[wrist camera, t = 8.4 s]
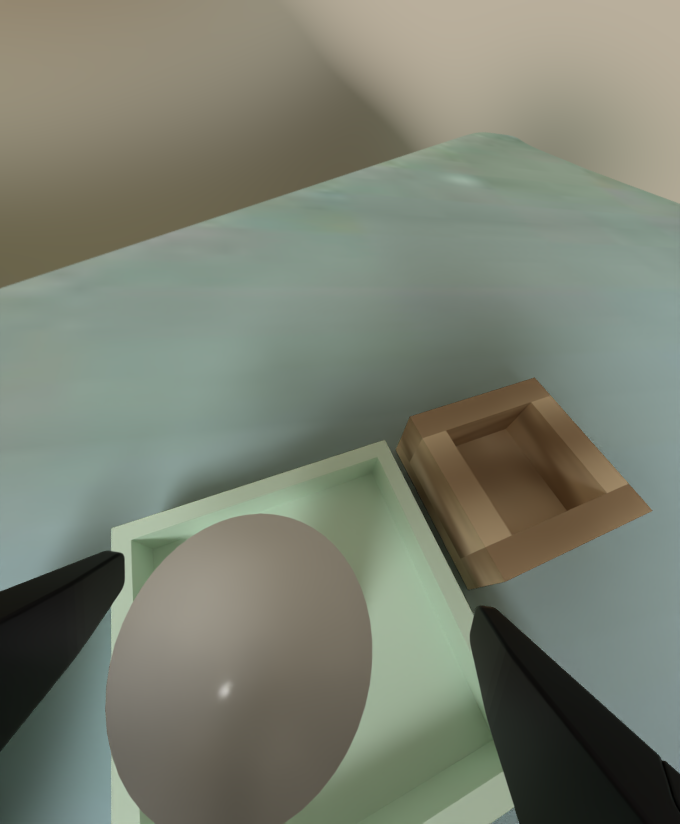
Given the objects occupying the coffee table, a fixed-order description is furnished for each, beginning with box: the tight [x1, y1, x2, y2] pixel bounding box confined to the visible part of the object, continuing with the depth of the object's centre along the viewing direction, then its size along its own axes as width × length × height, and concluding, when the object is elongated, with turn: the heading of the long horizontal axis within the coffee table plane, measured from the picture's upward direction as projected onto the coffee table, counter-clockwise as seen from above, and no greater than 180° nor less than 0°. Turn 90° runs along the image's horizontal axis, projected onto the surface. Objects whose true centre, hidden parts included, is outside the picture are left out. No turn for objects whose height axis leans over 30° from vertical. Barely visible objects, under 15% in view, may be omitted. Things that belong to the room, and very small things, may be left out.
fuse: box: [105, 514, 372, 824], centre depth 10 cm, size 4×4×11 cm
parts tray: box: [111, 440, 514, 824], centre depth 14 cm, size 14×14×3 cm
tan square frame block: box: [396, 378, 652, 590], centre depth 18 cm, size 8×8×4 cm
